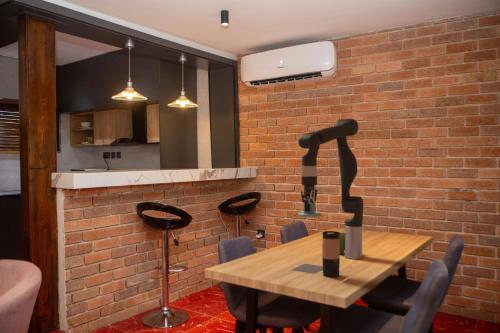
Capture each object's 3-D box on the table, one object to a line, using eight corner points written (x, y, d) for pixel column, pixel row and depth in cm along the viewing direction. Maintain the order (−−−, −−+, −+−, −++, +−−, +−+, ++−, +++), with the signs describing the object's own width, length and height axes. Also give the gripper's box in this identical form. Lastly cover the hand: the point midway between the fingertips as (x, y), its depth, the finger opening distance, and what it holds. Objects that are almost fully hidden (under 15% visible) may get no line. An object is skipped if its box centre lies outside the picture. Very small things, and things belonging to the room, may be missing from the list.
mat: (304, 264, 206) (304, 263, 206) (327, 268, 199) (327, 266, 199) (290, 271, 193) (290, 269, 193) (314, 275, 186) (314, 273, 186)
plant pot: (348, 256, 225) (348, 235, 225) (327, 255, 228) (327, 234, 228) (348, 251, 237) (348, 232, 237) (327, 250, 239) (327, 231, 239)
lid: (304, 213, 204) (304, 201, 204) (324, 215, 198) (324, 202, 198) (293, 215, 195) (293, 203, 195) (315, 217, 188) (315, 204, 188)
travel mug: (337, 274, 188) (337, 230, 188) (341, 279, 180) (341, 233, 180) (320, 274, 187) (320, 230, 187) (324, 279, 180) (324, 233, 180)
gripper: (308, 175, 204) (308, 209, 204) (295, 175, 192) (295, 212, 192) (322, 175, 200) (322, 210, 200) (309, 175, 188) (310, 213, 188)
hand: (309, 211), depth 196 cm, fingers closed on lid, 4 cm apart
